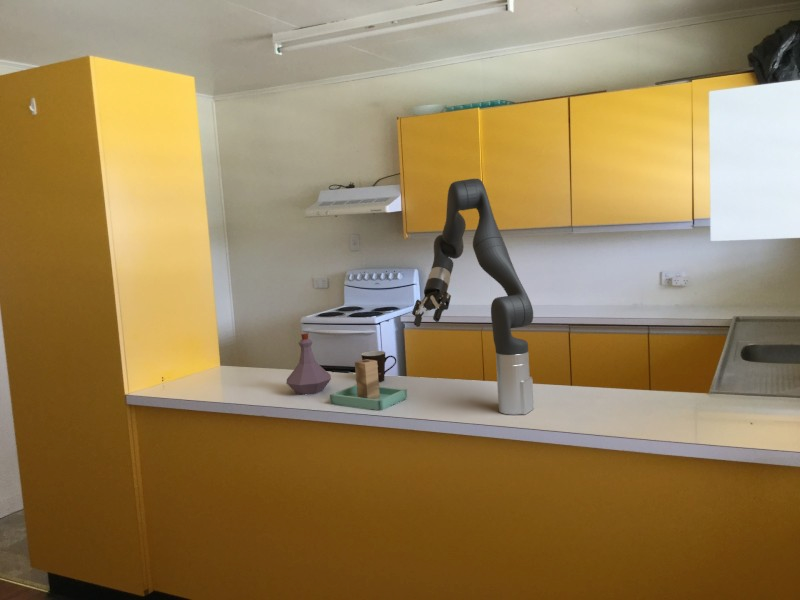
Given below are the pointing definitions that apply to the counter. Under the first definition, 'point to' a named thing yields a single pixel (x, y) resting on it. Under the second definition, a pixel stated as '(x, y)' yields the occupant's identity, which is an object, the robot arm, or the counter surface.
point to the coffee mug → (378, 361)
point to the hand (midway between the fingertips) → (426, 323)
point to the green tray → (350, 398)
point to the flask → (308, 372)
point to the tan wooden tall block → (367, 379)
